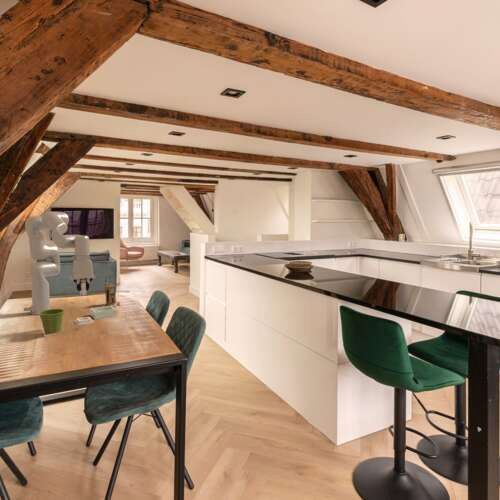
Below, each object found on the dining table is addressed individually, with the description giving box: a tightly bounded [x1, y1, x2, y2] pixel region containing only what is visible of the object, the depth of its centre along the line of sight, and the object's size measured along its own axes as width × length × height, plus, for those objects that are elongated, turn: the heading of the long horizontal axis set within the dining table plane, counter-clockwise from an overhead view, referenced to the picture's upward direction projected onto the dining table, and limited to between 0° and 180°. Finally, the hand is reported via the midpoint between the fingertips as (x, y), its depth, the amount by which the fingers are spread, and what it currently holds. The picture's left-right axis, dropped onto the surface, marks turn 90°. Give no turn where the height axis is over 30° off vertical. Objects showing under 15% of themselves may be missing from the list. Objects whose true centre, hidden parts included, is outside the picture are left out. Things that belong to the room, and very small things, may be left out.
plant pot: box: [38, 308, 66, 336], centre depth 185 cm, size 12×12×11 cm
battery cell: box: [79, 278, 88, 297], centre depth 202 cm, size 4×4×10 cm
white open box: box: [89, 305, 117, 320], centre depth 216 cm, size 12×12×5 cm
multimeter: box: [104, 274, 121, 308], centre depth 247 cm, size 15×10×20 cm
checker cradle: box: [73, 316, 95, 326], centre depth 203 cm, size 9×9×2 cm
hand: (83, 290), depth 202 cm, fingers closed on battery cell, 3 cm apart
